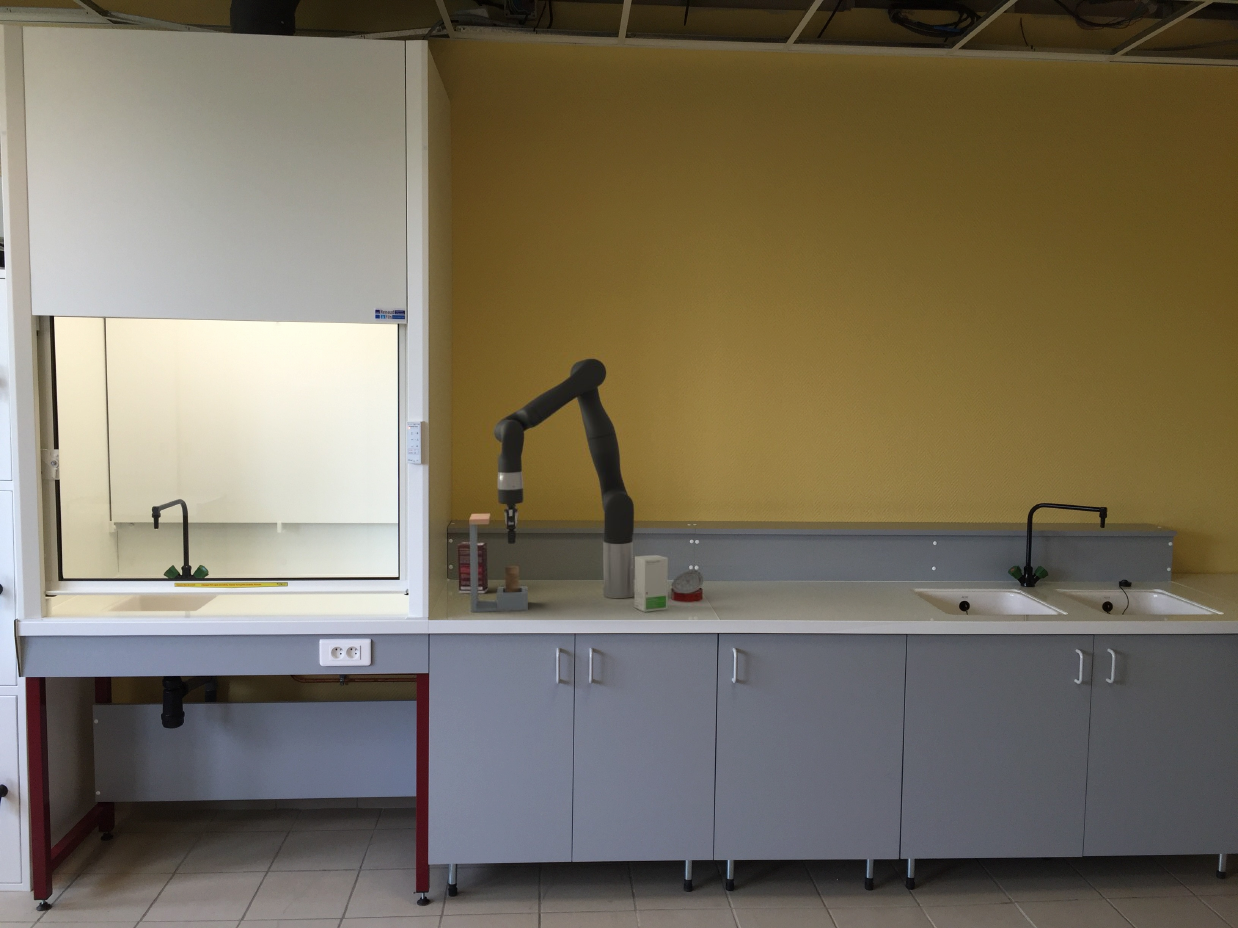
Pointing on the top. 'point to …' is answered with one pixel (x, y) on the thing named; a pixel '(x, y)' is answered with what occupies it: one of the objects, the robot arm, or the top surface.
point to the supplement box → (465, 567)
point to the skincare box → (651, 583)
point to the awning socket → (503, 598)
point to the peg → (512, 579)
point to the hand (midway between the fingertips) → (511, 540)
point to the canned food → (687, 587)
